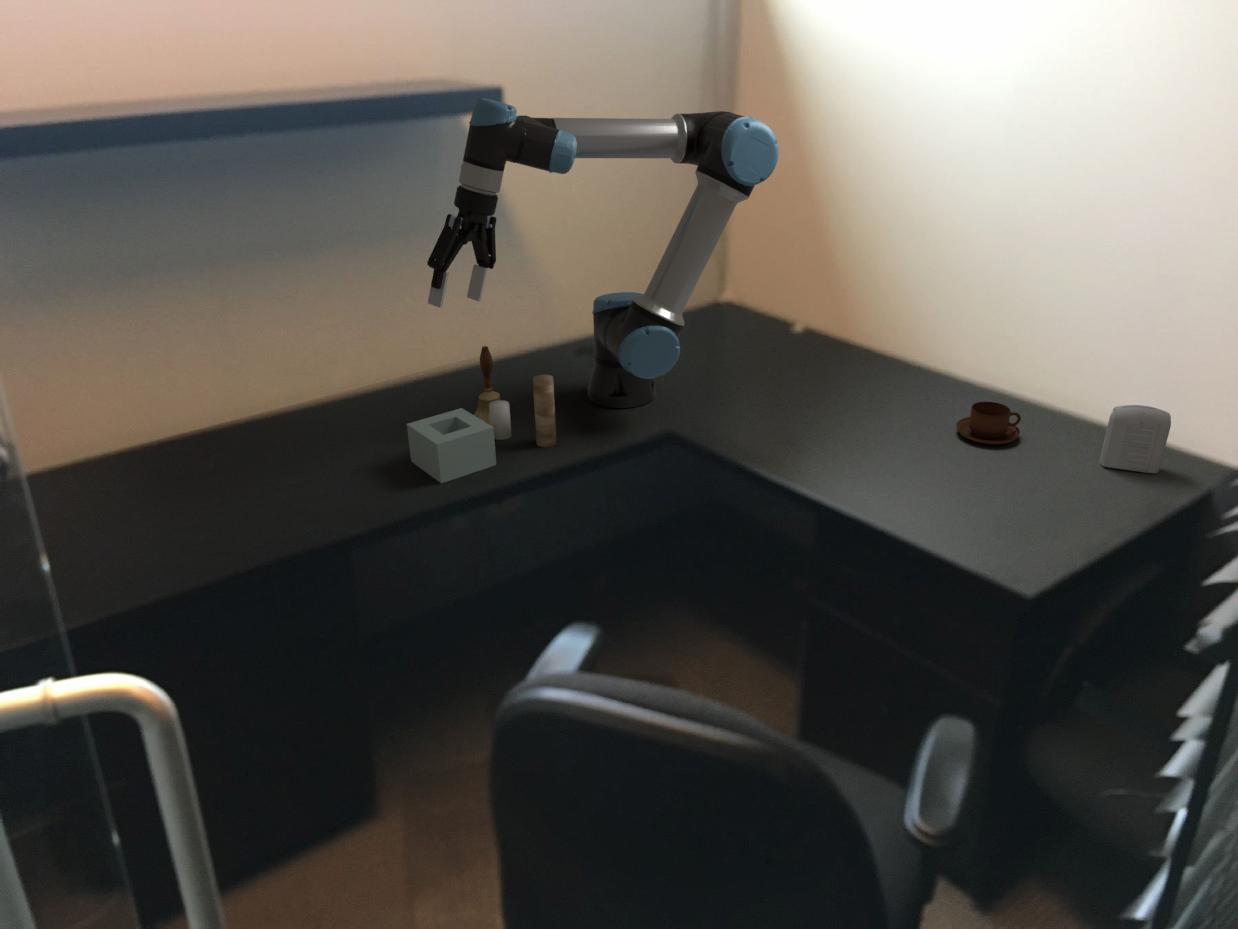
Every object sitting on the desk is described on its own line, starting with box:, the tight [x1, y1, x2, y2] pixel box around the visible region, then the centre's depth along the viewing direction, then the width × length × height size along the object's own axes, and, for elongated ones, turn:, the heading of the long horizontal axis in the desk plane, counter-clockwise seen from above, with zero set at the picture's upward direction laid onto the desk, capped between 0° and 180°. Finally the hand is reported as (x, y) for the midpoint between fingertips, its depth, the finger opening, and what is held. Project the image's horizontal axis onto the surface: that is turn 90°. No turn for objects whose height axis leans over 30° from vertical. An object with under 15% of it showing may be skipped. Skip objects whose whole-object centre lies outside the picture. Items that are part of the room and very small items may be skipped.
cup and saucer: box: [956, 401, 1022, 445], centre depth 199 cm, size 12×12×6 cm
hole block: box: [406, 407, 497, 484], centre depth 191 cm, size 12×12×8 cm
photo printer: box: [1098, 404, 1172, 474], centre depth 184 cm, size 10×4×12 cm, turn 70°
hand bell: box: [473, 345, 512, 425], centre depth 209 cm, size 8×8×16 cm
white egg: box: [489, 399, 512, 441], centre depth 203 cm, size 4×4×7 cm
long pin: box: [532, 374, 557, 449], centre depth 197 cm, size 4×4×14 cm
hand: (454, 302), depth 187 cm, fingers open, 13 cm apart
